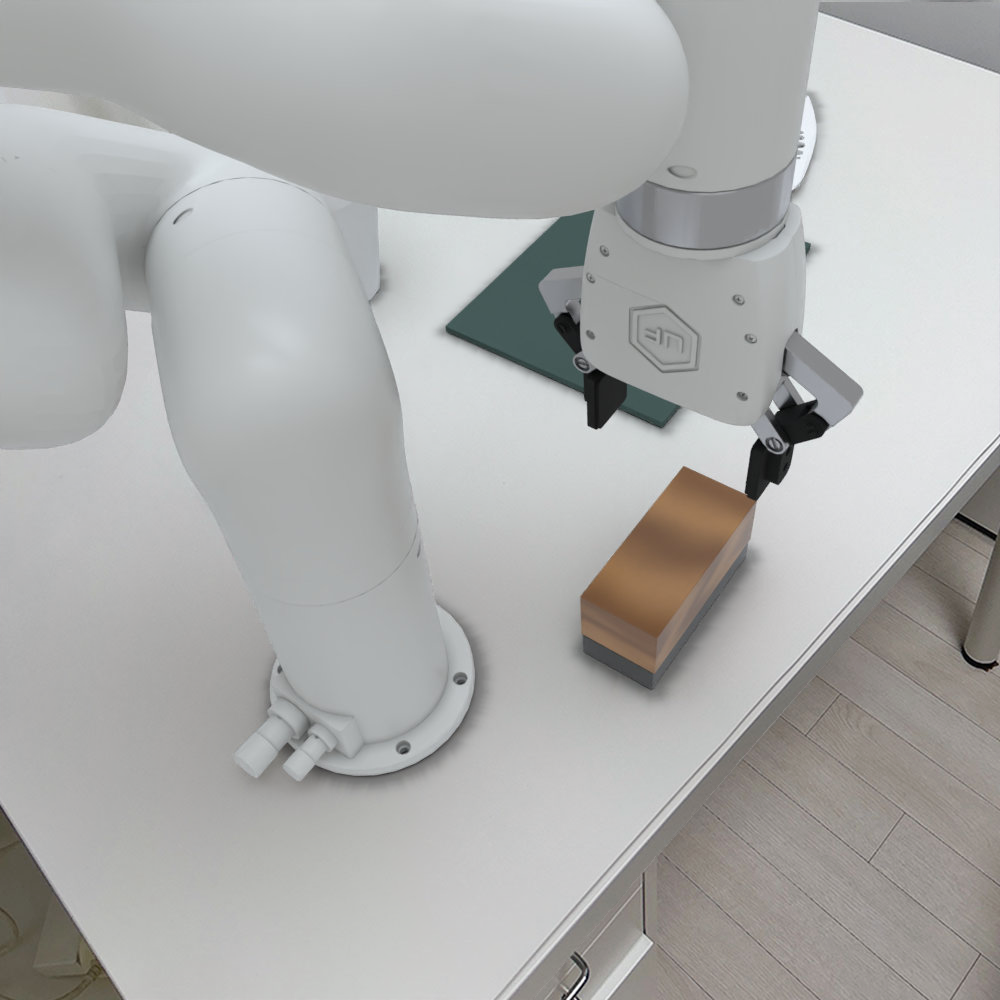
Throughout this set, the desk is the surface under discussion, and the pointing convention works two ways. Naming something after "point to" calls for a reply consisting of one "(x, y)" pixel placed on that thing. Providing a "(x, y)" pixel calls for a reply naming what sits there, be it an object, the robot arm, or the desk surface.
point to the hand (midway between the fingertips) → (682, 446)
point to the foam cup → (360, 239)
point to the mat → (543, 316)
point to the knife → (805, 143)
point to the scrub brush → (666, 576)
